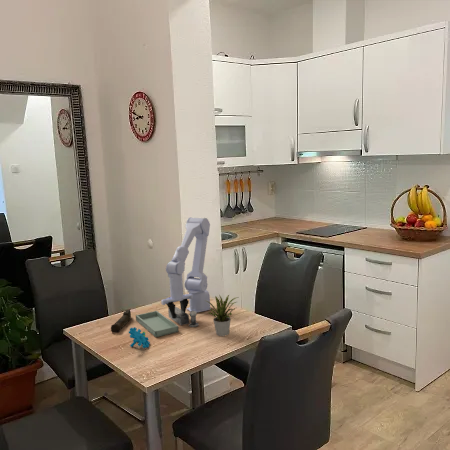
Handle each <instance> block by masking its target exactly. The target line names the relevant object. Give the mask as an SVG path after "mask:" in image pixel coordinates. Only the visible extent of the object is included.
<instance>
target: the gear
mask: <svg viewBox="0 0 450 450" xmlns="http://www.w3.org/2000/svg"><path fill="white" fill-rule="evenodd" d="M128 334H129V337H130V338H131V339H133V340H132V343H131V344H130V345H129V346H130V347H131V348H133V347H134V346H135V345H137V346H138V347H142V348H143V349H146V348H149V347H150V344H151V342H150V341H149V337H148V336H146V331H142V330H141V329H139V328H137V327H130V328H129V331H128ZM136 343H137V344H136Z"/></svg>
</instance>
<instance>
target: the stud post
mask: <svg viewBox="0 0 450 450" xmlns="http://www.w3.org/2000/svg"><path fill="white" fill-rule="evenodd" d="M197 314H198V313H196V311H194V310H193V311H189V317H190V322H189V324H188V327H189V328H198V327H200V324H199V322H197Z"/></svg>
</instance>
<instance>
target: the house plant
mask: <svg viewBox="0 0 450 450" xmlns="http://www.w3.org/2000/svg"><path fill="white" fill-rule="evenodd" d="M229 296H230V294H228V295H227V296H226V297H225V300H223V298H222V296H221V295H220V294H219V296H216V295H215V297H214V299H215V301H216V306H215V305H213V304H212V303H211V301H210V302H208V301H207V302H208V303H210V306H212V308H213V309H212V308H211V307H210V308H211V309H210V308H209V309H210V312H208V314H209V315H212V316H213V317H214V318H213V324H214V329H215V334H216V335H217V336H218V337H225V335H226V336H228V335H229V334H230V326H231V317H230V316H232V314H233V313H232V312H233V311H234V310H235V309H236V307H234V308H231V307H232V306H233V305H234V304H236V303H237V301H234V300H236V299H238V298H239V296H238V297H234V298H232V299H231V300H229ZM228 301H229V302H228ZM233 301H234V302H233ZM215 307H216V308H215ZM228 312H229V313H228Z"/></svg>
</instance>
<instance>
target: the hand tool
mask: <svg viewBox="0 0 450 450" xmlns="http://www.w3.org/2000/svg"><path fill="white" fill-rule="evenodd" d="M131 312H132V311H131V309H126V310H125V311H123V313H122V316H121V317H119V319H118V320H116V322H114V324H111V326H110V331H111V332H112V333H113V332H114V334H115V333H116V334H117V333H120V332H121V329H122V328H123V327H124V326H125V325H126V324H127V323H129V322H130V321H131V320H132V319H131V318H132V315H131V314H132V313H131Z"/></svg>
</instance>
